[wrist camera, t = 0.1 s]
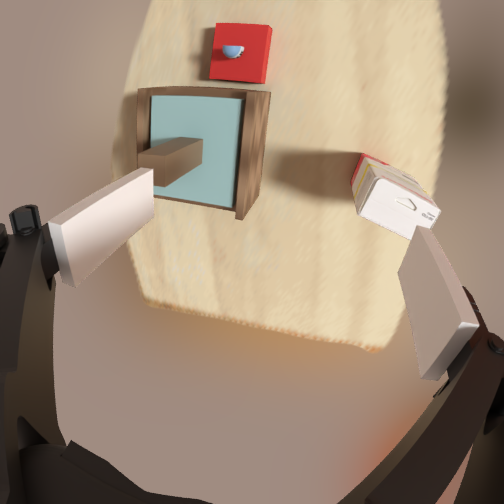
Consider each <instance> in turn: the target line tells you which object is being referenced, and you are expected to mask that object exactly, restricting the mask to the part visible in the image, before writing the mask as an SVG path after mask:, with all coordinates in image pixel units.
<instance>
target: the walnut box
mask: <svg viewBox="0 0 504 504" xmlns="http://www.w3.org/2000/svg"><path fill="white" fill-rule="evenodd" d="M155 95H184V96H209V97H225V98H237V99H245V100H244V110H243V120H242V131H241V141H240V152H239V163H238V174H237V186H236V198H235V205H234V206H233V207H232V208H230V207H225V206H220V205H214V204H208V203H203V202H197V201H191V200H185V199H179V198H173V197H167V196H161V195H154V194H153V197H154V198H160V199H166V200H172V201H178V202H184V203H190V204H196V205H201V206H207V207H212V208H218V209H223V210H229V211H234V212H236V215H235V219H238V220H243V219H244V217H245V216H246V214H247V213H248V211H249V210H250V208H251V207H252V205H253V204H254V202H255V200H256V199H257V197H258V196H259V190H260V182H261V173H262V165H263V156H264V148H265V139H266V131H267V122H268V114H269V105H270V97H271V92H265V91H256V90H245V89H233V88H218V87H191V86H169V87H152V88H140V89H138V96H137V169H138V153H141V152H143V151H145V150H148V149H150V148H151V107H152V96H155Z"/></svg>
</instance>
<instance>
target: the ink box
mask: <svg viewBox="0 0 504 504" xmlns="http://www.w3.org/2000/svg"><path fill="white" fill-rule="evenodd" d="M351 187H352V192H353V197H354V201H355V206H356V211H357V215H358V216H361V217H363V218H365V219H367V220H369V221H372V222H374V223H376V224H378V225H380V226H382V227H384V228H386V229H388V230H390V231H392V232H394V233H396V234H398V235H400V236H402V237H404V238H406V239H408V240H410V241H411V239H412V236H413V234H414V231H415V228H416V225H419V226H422V227H425V228H429V229H431V228H432V227H433V225H434V223H435V221H436V220H437V218H438V216H439V214H440V213H441V210H440V209H439V208H438V206H437V205H436V204H435V203H434V201H433V200H432V199H431V197H430V196H429V195H428V194H427V193H426V191H425V190H424V189H423V187H422V186H421V185H420V184H419V183H418V181H417V180H416V179H415V178H414V177H413V176H411V175H409V174H407V173H405V172H403V171H401V170H399V169H396V168H394V167H392V166H390V165H388V164H386V163H384V162H382V161H380V160H377V159H375V158H373V157H371V156H369V155H366V154H364V153H362V154H361V157H360V159H359V162H358V164H357V167H356V169H355V172H354V174H353V177H352V179H351Z"/></svg>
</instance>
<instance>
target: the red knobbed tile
mask: <svg viewBox="0 0 504 504" xmlns="http://www.w3.org/2000/svg"><path fill="white" fill-rule="evenodd" d="M271 36H272V28H271V27H270V26H269V25H259V24H241V23H216V28H215V35H214V43H213V50H212V58H211V67H210V75H209V79H224V80H236V81H246V82H255V83H263V84H265V78H266V71H267V64H268V57H269V50H270V43H271Z"/></svg>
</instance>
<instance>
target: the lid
mask: <svg viewBox="0 0 504 504" xmlns="http://www.w3.org/2000/svg"><path fill="white" fill-rule="evenodd" d="M244 100H245V99H237V98H225V97H209V96H184V95H155V96H152V107H151V148H150V149H148V150H145V151H143V152H141V153H138V169H139V168H141V167H142V168H149V169H153V194H154V195H161V196H167V197H173V198H179V199H185V200H191V201H197V202H203V203H208V204H214V205H220V206H225V207H230V208H232V207H233V206H234V205H235V198H236V186H237V174H238V163H239V152H240V141H241V131H242V120H243V110H244Z"/></svg>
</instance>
